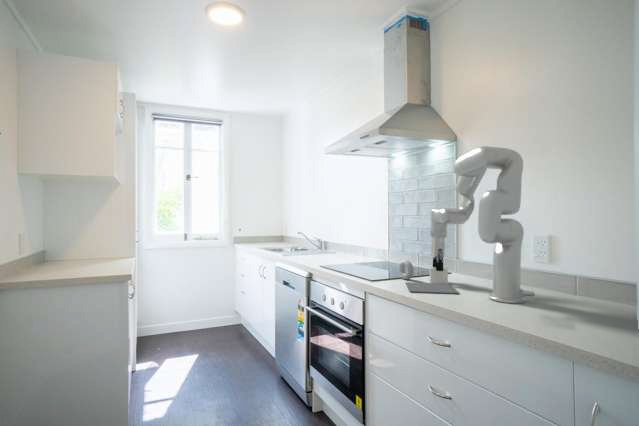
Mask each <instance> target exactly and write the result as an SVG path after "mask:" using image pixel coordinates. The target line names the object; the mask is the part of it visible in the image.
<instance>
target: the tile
mask: <svg viewBox="0 0 639 426" xmlns="http://www.w3.org/2000/svg"><path fill="white" fill-rule="evenodd" d="M448 269H449V268H446V267H443V271H436V268H435V267H429V283H445V284H449V280H448V279H449V278H448V277H449V273H448V272H449V270H448Z"/></svg>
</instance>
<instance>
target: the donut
mask: <svg viewBox="0 0 639 426" xmlns="http://www.w3.org/2000/svg"><path fill="white" fill-rule="evenodd" d="M414 268H415V267H414V266H413V263H412V262H411V261H410V260H408V259H402V260H401V261H400V262H399V264H398V267H397V269H398V274H399V275H400V277H401V278H402V279H404V280H410V279H412V278H413V276H414V270H415V269H414Z"/></svg>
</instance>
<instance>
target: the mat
mask: <svg viewBox="0 0 639 426" xmlns="http://www.w3.org/2000/svg"><path fill="white" fill-rule="evenodd" d="M405 285H406V287H407V290H408V291H409V293H412V294H414V293H415V294H437V295H438V294H439V295H440V294H443V295H448V294H449V295H460V292H459V291H458V290H457V289H456V288H455V287H454V286H453V285H451V283H430V282H411V281H409V282H406V281H405Z"/></svg>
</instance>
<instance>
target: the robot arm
mask: <svg viewBox="0 0 639 426" xmlns="http://www.w3.org/2000/svg"><path fill="white" fill-rule="evenodd" d="M452 167H453V172H454V174H455V175H456V176H457V177H458V176H459V177H458V180H457V182H456V184H455V186H454V190H455V191H456V192H457V193H458V195H461V196H462V197H463V198H462V203H461V204H460V206H459V207H458V208H455V207H454V208H453V207H451V208H450V207H448V208H447V207H445V208H432V209H431V211H430V238H431V247H430V255H431V257H432V268H436V271H443V268H444V258H445V250H446V249H445V248H446V246H445V238H448V237H447V236H448V226H449V225H463V224H465V223H467V221H468V220H469V219H470V217H471V215H472V214H473V212H474V210H475V204H476V203H475V197H474V194H475V193H476V191H477V189H478V187H479V185H480V183H481V181H482V180H483V177H484V176H485V174H486V171H487V169H489V170H490V169H491V170H492V169H493V170H500V172H499V174H498V176H497V178H496V179H497V180H496V189H490V190H487V191H486V192H484V193H483V194H482V196H481V197H480V199H479V202H478V217H477V218H478V219H477V221H478V222H477V224H478V225H477V231H478V235H479V238H480V240H481V241H482V242H483V243H486V244H493V245H495V247H494V249H493V258H492V271H493V272H492V293H490V294H488V298H489V299H490V300H492V301H495V302H501V303H505V304H522V303H525V302H526V297H535V292H534V291H533V290H531V291H530V290H524V289H522V288H521V260H522V259H521V258H522V257H521V254H522V253H521V252H522V244H523V240H524V233H525V232H524V227H523V226H524V225H522V223H521V222H520V221H519V220H516V219H515V218H514V219H513V218H509V217H508V218H507V217H505V218H504V217H503V218H502V216H509V215H511V216H512V215H515V214H517V213H518V212H519V211H520V209H521V202H522V199H521V198H522V180H523V179H522V177H523V172H524V171H523V170H524V160H523V157H522V155H521V154H520V153H519V152H517V151H516V150H514V149H511V148H507V147H499V146H498V147H497V146H479V147H477V148H474V149H473V150H470V151H469V152H467V153H465V154H462V155H461V156H459V157H458V158H457V159H456V160H455V162H454V164H453V166H452Z"/></svg>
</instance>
